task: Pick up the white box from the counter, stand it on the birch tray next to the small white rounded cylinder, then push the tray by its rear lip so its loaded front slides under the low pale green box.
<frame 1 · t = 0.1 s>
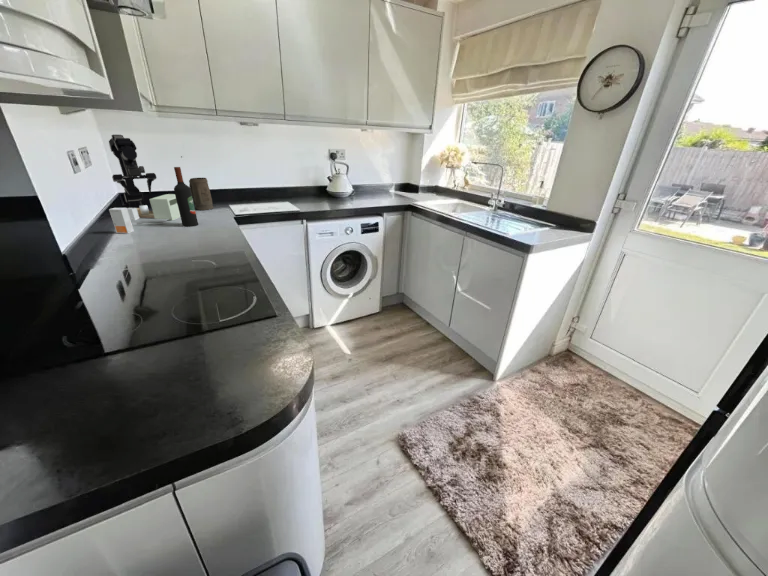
hand: (140, 193, 174), 15 cm above the table, tool pointing down, fingers open, 9 cm apart
wine bottle: (190, 225, 177), on the table
pale green box: (172, 217, 193), on the table
skincare box: (125, 232, 162), on the table
tray: (147, 213, 191), point 2 cm above the table, slide at 0.0 cm, touching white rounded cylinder
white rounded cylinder: (145, 214, 194), point 1 cm above the table, touching tray
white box: (134, 220, 183), on the table
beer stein: (201, 208, 216), on the table
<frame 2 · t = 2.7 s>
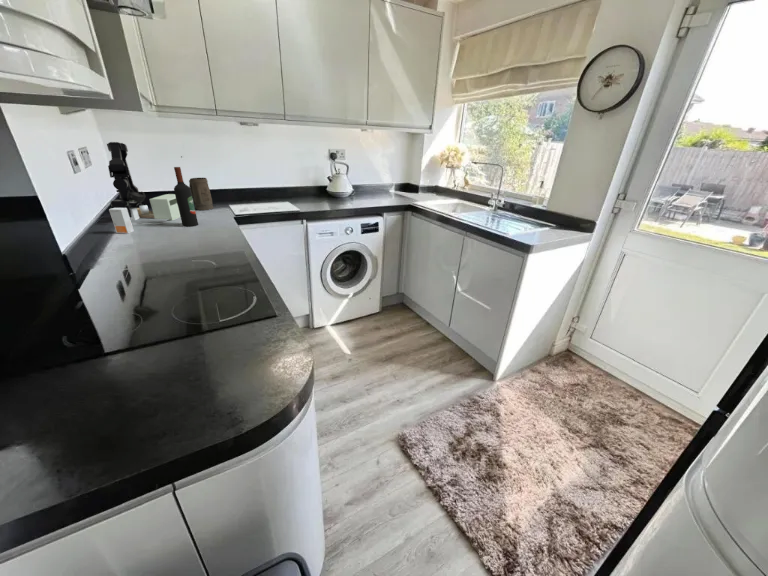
hand: (132, 216, 182), 3 cm above the table, tool pointing down, fingers closed on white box, 4 cm apart
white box: (134, 220, 183), on the table, touching gripper
everything else where it was.
when the fingers open (4 cm above the table, at t = 6.7 s): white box stays where it is, resting on tray.
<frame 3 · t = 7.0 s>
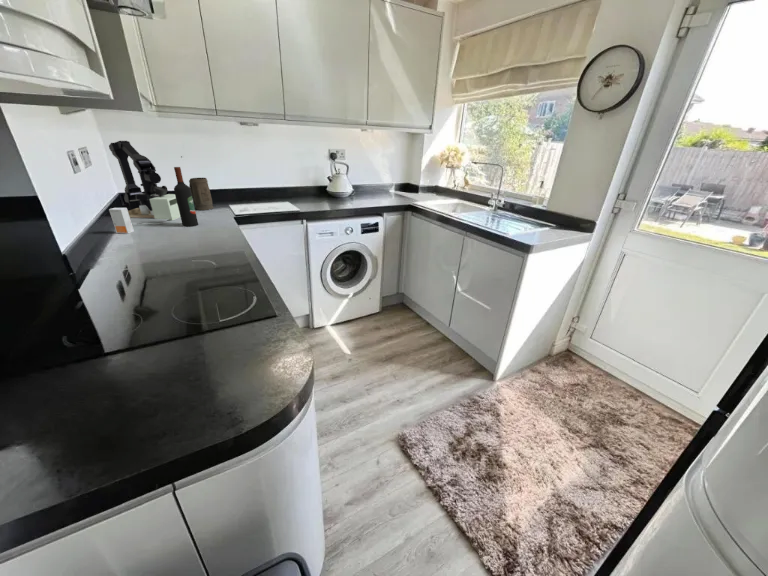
hand: (155, 209, 190), 4 cm above the table, tool pointing down, fingers open, 7 cm apart
tray: (147, 213, 191), point 2 cm above the table, slide at 0.0 cm, touching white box, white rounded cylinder
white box: (156, 215, 192), point 1 cm above the table, touching tray
everything else where it was.
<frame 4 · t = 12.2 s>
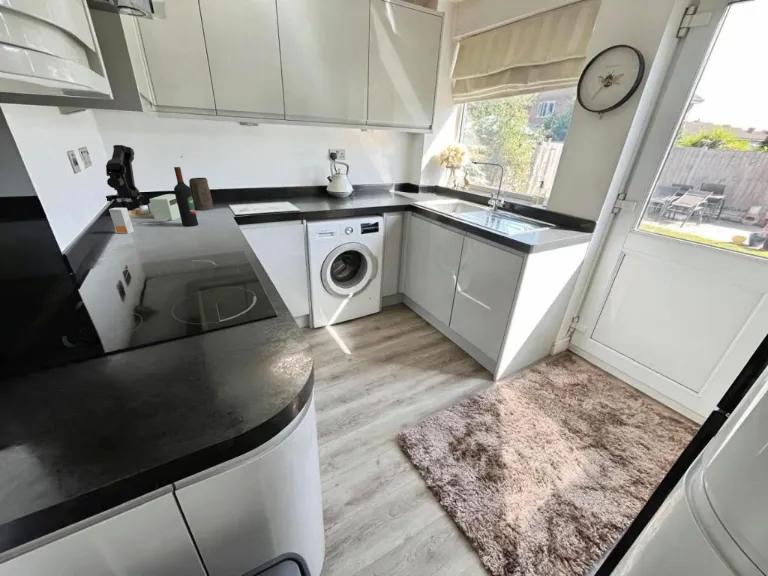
hand: (129, 213, 190), 2 cm above the table, tool pointing down, fingers closed
tray: (147, 213, 191), point 2 cm above the table, slide at 0.1 cm, touching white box, gripper, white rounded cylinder
everything else where it was.
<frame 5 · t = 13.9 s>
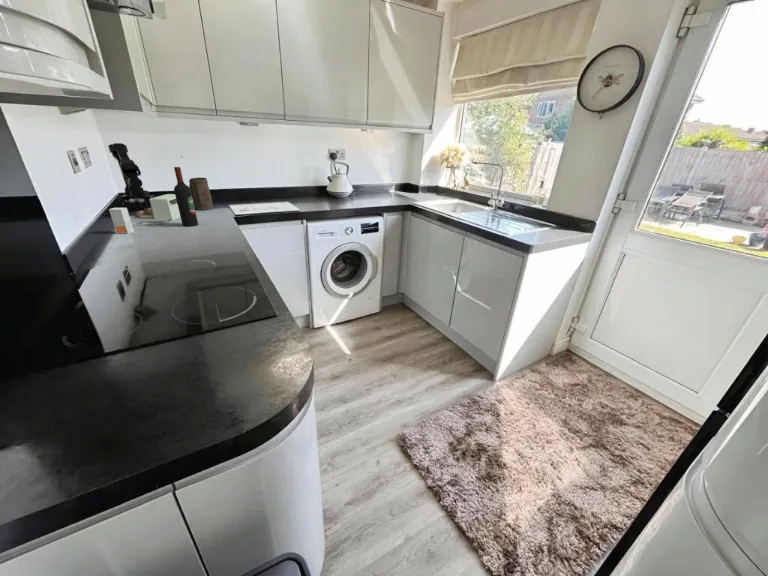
hand: (142, 213, 191), 2 cm above the table, tool pointing down, fingers closed
tray: (160, 213, 191), point 2 cm above the table, slide at 7.3 cm, touching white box, gripper, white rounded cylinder
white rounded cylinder: (158, 214, 194), point 1 cm above the table, touching tray
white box: (169, 215, 192), point 1 cm above the table, touching tray
everything else where it was.
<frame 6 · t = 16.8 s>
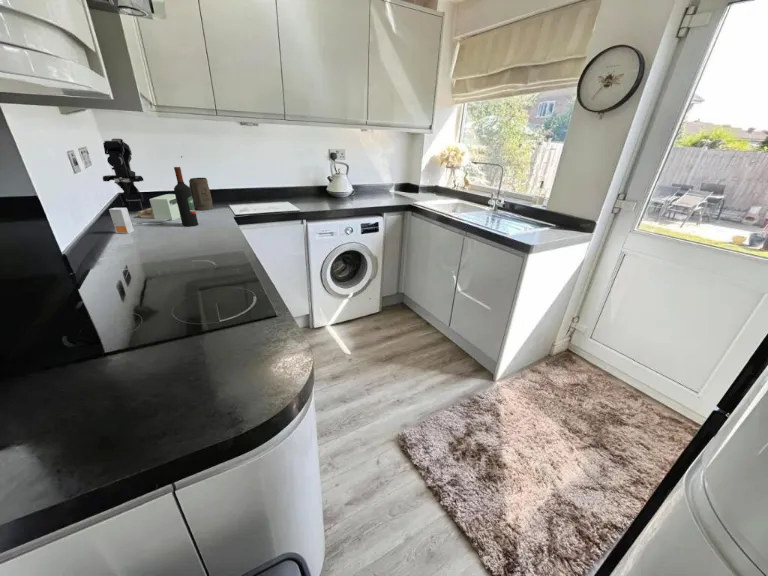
hand: (127, 194, 186), 13 cm above the table, tool pointing down, fingers closed
tray: (160, 213, 191), point 2 cm above the table, slide at 7.3 cm, touching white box, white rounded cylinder
everything else where it was.
at the end: tray slide at 7.3 cm; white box inside the target area (0.7 cm from its centre), point 1.0 cm above the table; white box tilted 0° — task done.
